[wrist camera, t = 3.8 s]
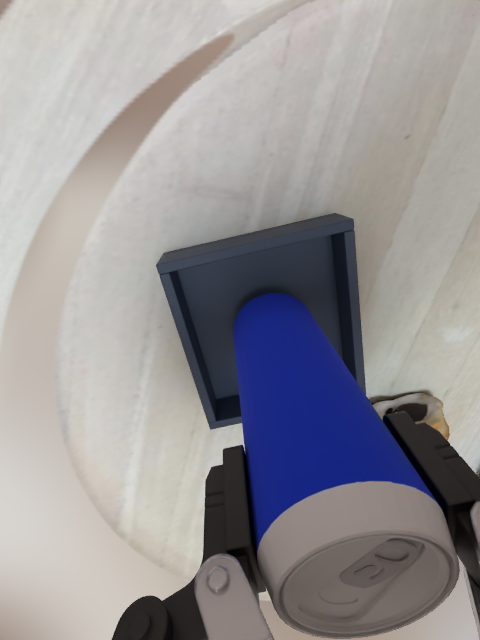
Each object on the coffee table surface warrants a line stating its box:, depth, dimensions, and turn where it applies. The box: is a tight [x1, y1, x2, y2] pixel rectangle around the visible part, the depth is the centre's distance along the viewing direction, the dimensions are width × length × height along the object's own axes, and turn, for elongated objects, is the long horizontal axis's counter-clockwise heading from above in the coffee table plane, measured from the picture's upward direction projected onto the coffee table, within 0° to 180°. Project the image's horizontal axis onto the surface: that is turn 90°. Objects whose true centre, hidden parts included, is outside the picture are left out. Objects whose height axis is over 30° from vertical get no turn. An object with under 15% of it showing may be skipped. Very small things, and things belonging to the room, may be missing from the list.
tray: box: [156, 213, 366, 429], centre depth 22 cm, size 12×11×3 cm
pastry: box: [372, 393, 449, 440], centre depth 27 cm, size 9×7×4 cm
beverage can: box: [233, 293, 460, 639], centre depth 15 cm, size 5×5×15 cm
